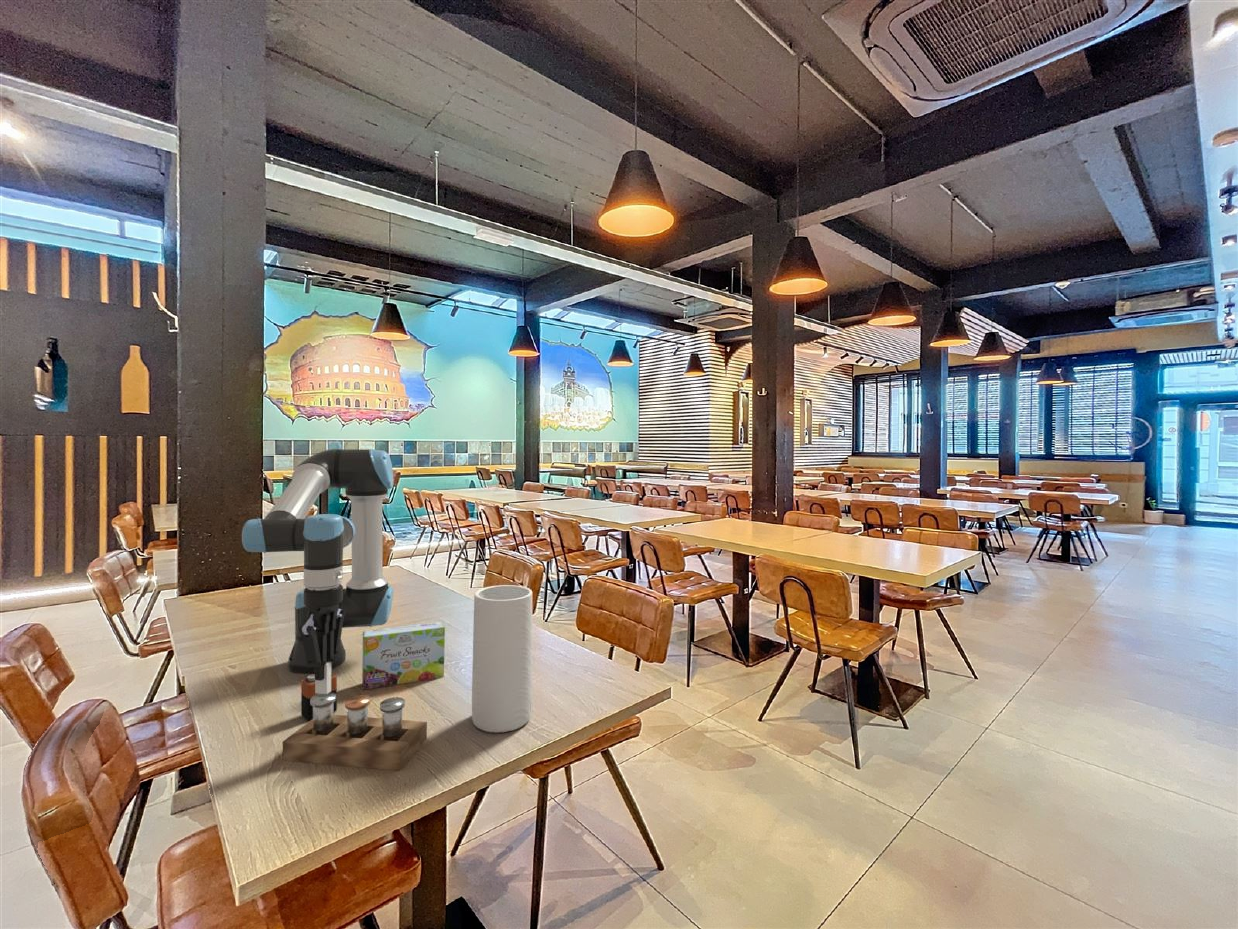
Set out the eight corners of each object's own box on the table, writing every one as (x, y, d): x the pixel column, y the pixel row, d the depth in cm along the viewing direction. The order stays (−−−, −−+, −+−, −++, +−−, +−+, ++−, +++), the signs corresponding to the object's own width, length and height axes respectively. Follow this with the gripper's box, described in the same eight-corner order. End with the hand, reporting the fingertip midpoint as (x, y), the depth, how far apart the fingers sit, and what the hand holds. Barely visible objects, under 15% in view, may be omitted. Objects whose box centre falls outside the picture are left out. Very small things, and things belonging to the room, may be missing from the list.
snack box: (363, 691, 146) (363, 636, 146) (362, 683, 151) (362, 630, 151) (444, 677, 156) (445, 626, 155) (441, 670, 161) (441, 620, 160)
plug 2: (375, 737, 116) (375, 707, 116) (387, 725, 121) (387, 696, 121) (397, 739, 115) (397, 709, 115) (408, 727, 120) (409, 698, 120)
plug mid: (339, 734, 117) (339, 704, 116) (353, 722, 122) (353, 694, 121) (361, 736, 116) (361, 706, 116) (374, 724, 121) (374, 695, 121)
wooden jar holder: (282, 760, 114) (282, 741, 114) (319, 730, 126) (319, 713, 126) (400, 770, 112) (400, 751, 112) (426, 739, 124) (426, 722, 124)
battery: (300, 716, 133) (300, 676, 132) (329, 706, 138) (329, 667, 137) (308, 722, 130) (308, 681, 129) (337, 711, 135) (337, 672, 135)
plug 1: (305, 731, 118) (305, 702, 117) (320, 719, 122) (320, 691, 122) (326, 733, 117) (326, 703, 117) (340, 721, 122) (341, 693, 122)
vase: (476, 740, 124) (478, 603, 123) (467, 711, 137) (469, 587, 136) (537, 728, 130) (540, 597, 128) (523, 701, 143) (525, 582, 141)
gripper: (320, 594, 112) (319, 707, 112) (357, 579, 125) (356, 680, 125) (286, 593, 112) (286, 705, 113) (326, 577, 125) (326, 678, 126)
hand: (323, 692), depth 119 cm, fingers closed
